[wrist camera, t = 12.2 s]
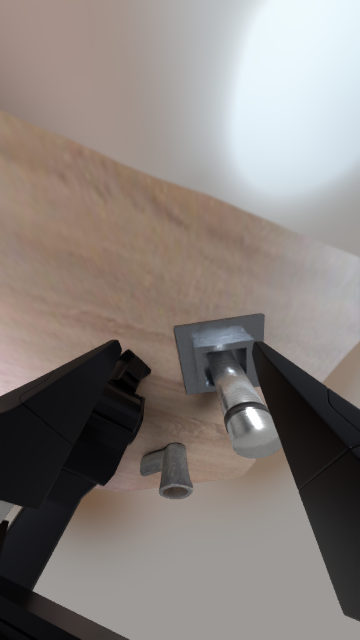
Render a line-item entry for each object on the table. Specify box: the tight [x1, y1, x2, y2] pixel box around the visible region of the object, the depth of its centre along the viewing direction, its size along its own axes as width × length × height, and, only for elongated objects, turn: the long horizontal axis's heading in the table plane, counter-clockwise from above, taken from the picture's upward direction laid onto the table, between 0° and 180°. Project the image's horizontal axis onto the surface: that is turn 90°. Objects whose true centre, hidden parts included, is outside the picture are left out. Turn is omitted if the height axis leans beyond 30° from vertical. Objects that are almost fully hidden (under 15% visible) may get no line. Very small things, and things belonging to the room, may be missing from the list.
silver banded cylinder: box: [208, 350, 282, 458], centre depth 19 cm, size 5×5×13 cm
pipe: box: [140, 443, 193, 499], centre depth 32 cm, size 6×13×8 cm, turn 112°
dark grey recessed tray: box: [174, 313, 265, 394], centre depth 25 cm, size 15×15×4 cm
